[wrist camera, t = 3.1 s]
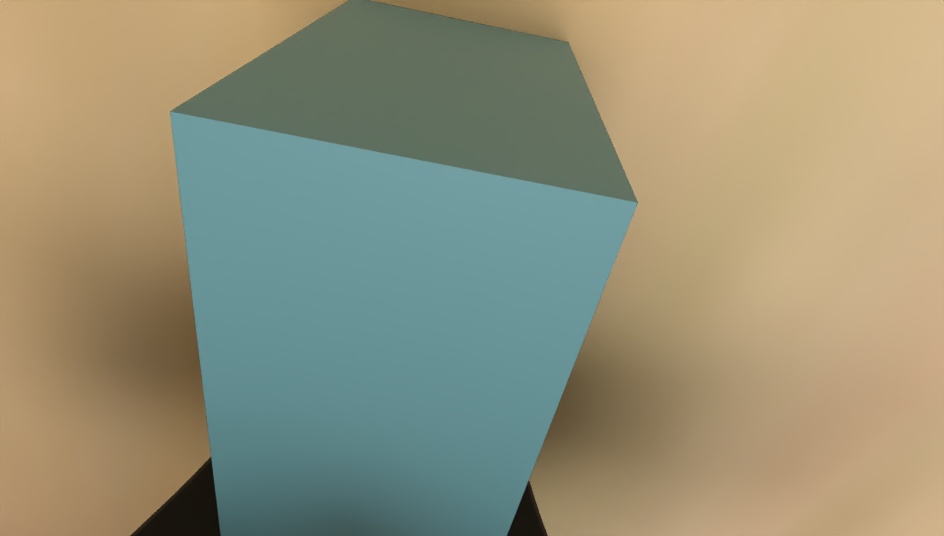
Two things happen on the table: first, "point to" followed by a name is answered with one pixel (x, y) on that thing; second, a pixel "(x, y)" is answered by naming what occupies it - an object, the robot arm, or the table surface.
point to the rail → (392, 269)
